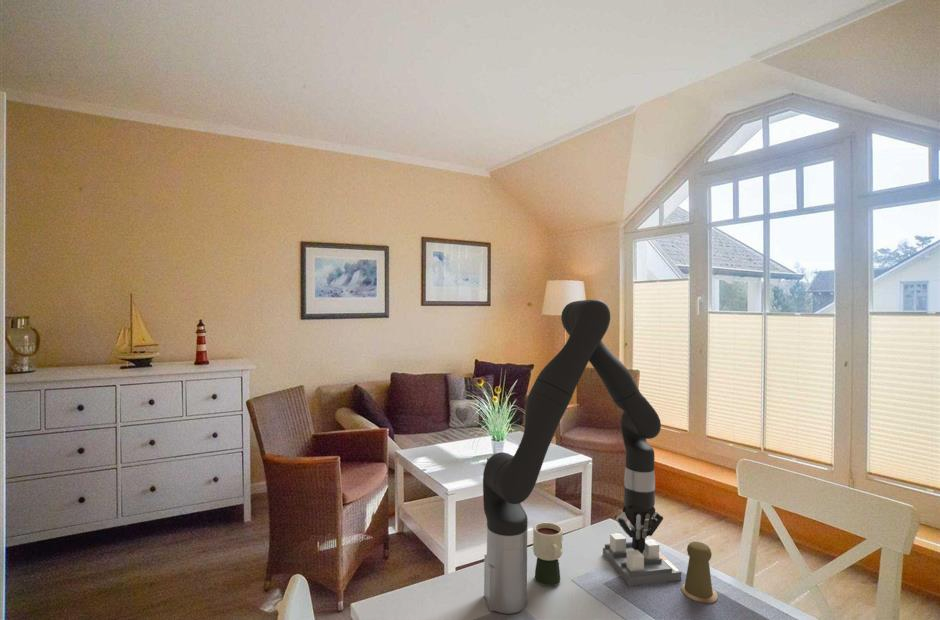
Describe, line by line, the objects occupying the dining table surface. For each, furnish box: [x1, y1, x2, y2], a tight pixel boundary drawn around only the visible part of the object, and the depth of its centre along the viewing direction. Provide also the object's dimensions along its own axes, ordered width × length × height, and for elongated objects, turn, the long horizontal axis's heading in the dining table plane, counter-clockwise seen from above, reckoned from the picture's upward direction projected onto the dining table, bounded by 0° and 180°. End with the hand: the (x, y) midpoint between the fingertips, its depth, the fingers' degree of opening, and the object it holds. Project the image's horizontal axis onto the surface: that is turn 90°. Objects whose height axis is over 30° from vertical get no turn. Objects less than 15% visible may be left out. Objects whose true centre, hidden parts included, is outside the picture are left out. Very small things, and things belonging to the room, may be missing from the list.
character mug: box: [532, 521, 564, 586], centre depth 116 cm, size 11×7×13 cm, turn 12°
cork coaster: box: [681, 582, 718, 604], centre depth 111 cm, size 8×8×1 cm
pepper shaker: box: [684, 541, 713, 598], centre depth 111 cm, size 6×6×11 cm
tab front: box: [626, 550, 644, 571], centre depth 117 cm, size 3×3×4 cm
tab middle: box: [642, 538, 660, 559], centre depth 123 cm, size 3×3×4 cm
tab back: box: [609, 532, 627, 553], centre depth 126 cm, size 3×3×4 cm
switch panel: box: [602, 541, 682, 586], centre depth 122 cm, size 14×14×3 cm
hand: (638, 551), depth 122 cm, fingers closed
